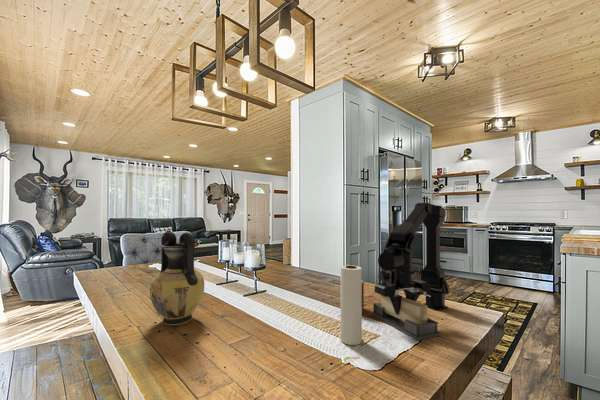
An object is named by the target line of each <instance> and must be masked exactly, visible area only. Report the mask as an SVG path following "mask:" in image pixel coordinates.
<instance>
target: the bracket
mask: <svg viewBox="0 0 600 400" xmlns="http://www.w3.org/2000/svg"><path fill="white" fill-rule="evenodd" d="M371 315H372V316H374V317H375V318H377V319H378V320H381V321H382V322H384V323H385V324H387V325H388V326H391V327H393V328H394V329H396V330H397V331H399V332H401V333H402V332H403V334H404V333H405V334H404V335H405V336H407V335H408V336H407V337H409V336H410V338H411V337H412V338H411V339H413V340H414V339H415V341H416V342H419V341H422V340H427V339H433V338H438V337H440V336H441V333H440V332H439V331H438V322H437V321H435V320H434V319H431V318H430V317H429V318H428V322H427V323H421V324H415V323H413V322H411V321H409V320H408V319H406V320H405V321H403V320H401V319H399V318H396V317H394V316H392V315H390V314H388V313H385V308H384V307H382V306H381V301H380V302H373V311H371Z"/></svg>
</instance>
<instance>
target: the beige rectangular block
mask: <svg viewBox="0 0 600 400" xmlns="http://www.w3.org/2000/svg"><path fill="white" fill-rule="evenodd" d="M380 302H381V306H382V307H384V308H385V313H388V314H390V315H392V316H394V317H396V318H399V319H401V320H403V321H405V320H406V319H408V320H409V321H411V322H413V323H415V324H421V323H427V322H428V316H429V315H428V307H427V305H424V304H423V303H421V302H418V301H413V300H410V299H407V298H406V296H402V300H401V306H400V312H399V315H397V314H396V313H395V311H394V308H393V305H392V302H391V300H390V298H389V297H384V296H382V295H380Z"/></svg>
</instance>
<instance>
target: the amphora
mask: <svg viewBox="0 0 600 400" xmlns="http://www.w3.org/2000/svg"><path fill="white" fill-rule="evenodd" d="M160 241H161V243H160V246H159V247H160V248H161V266H160V267H161V268H160V271H159V273H157V274H156V275H155V276H154V277H153V279H152V281H151V283H150V287H149V297H150V302H151V303H152V304H151V305H152V307H153V308H154V310H155V311H156V313H157V314H159V316H161V317H163V319H162V323H163V324H164V325H166V326H180V325H184V324H187V323H189V322H190V321H191V320H193V315H192V314H193V312H194V311H196V309H197V307H198V306H199V305H200V302H201V300H202V299H203V295H204V292H205V279H204V276H203V275H202V273H201V272H200V271H199V270H197V269H195V249H196V246H197V243H196V240H195V237H194V235H193V233H191V232H184V233H182V234H181V235H180V236H179V239H178V240H177V236H176V234H175V233H174V232H173V231H165V232H164V233H163V234H162V236H161V240H160ZM177 241H179V242H177Z"/></svg>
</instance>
